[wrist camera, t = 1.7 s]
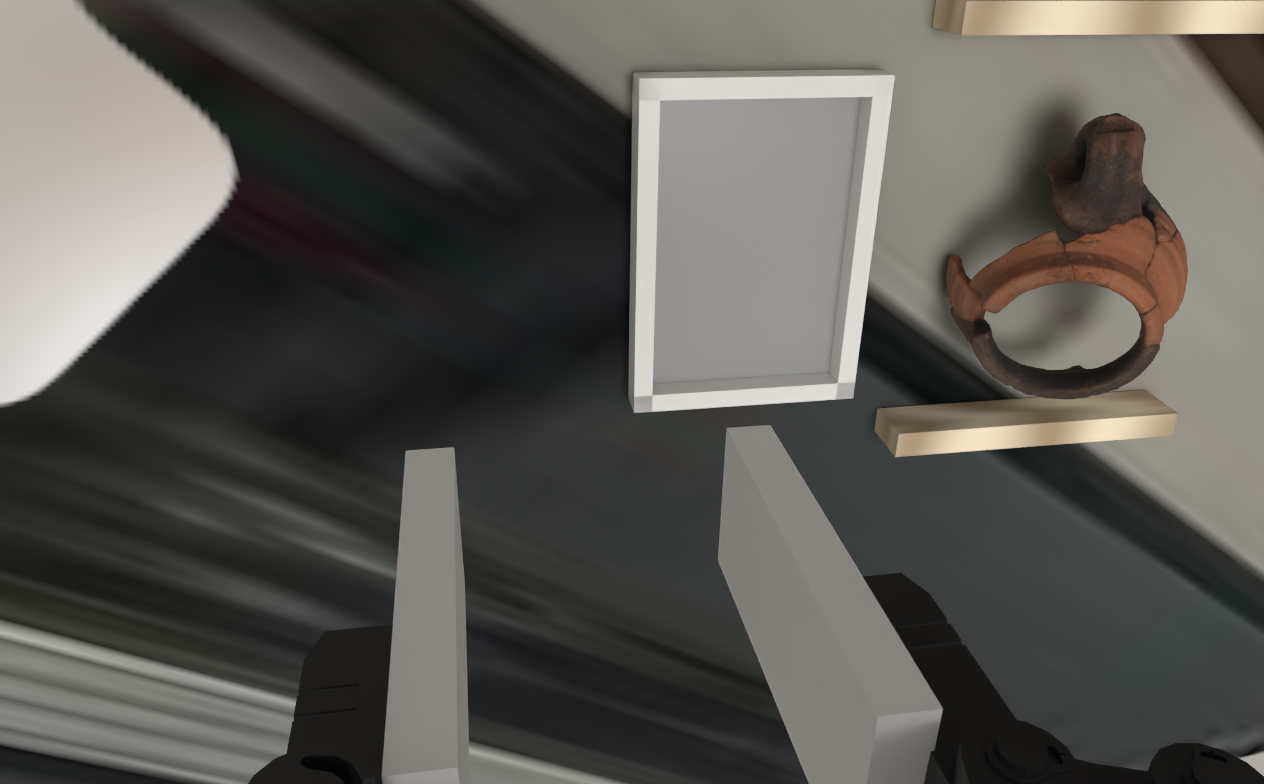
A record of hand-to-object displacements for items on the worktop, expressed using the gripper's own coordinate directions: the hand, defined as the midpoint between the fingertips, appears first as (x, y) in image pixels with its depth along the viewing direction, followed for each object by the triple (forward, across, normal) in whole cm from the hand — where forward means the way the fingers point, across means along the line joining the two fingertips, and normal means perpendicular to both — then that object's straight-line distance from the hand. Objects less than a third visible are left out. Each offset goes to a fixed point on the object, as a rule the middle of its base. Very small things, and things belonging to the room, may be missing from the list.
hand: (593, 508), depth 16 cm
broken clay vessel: (+25, +23, -4) cm, 34 cm away
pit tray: (+25, +10, -4) cm, 27 cm away
